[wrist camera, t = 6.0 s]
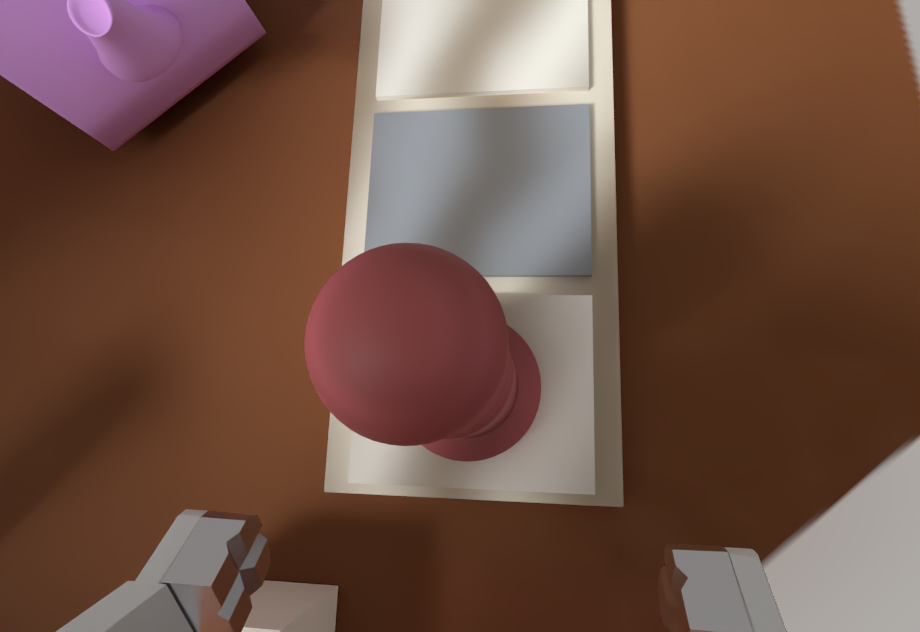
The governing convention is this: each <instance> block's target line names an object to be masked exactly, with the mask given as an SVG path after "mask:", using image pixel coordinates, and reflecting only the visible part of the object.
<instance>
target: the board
mask: <svg viewBox="0 0 920 632" xmlns="http://www.w3.org/2000/svg"><path fill="white" fill-rule="evenodd" d="M393 243H421V244H426V245H432V246H435V247H438V248H441V249H444V250H446V251H449V252H451V253H453V254H455V255H457V256H458V257H460V258H461V259H463V260H464V261H466V262H468V263H469V264H470V265H471V266H473V267H474V268H475V269H476V270H477V271H478V272H479V273H480V274H481V275H482V276H483V277H484V278H485V279H486V281H487V282H488V283H489V285H490V286H491V288H492V289H493V291H494V292H495V294H496V296H497V298H498V300H499V302H500V304H501V306H502V309H503V312H504V315H505V318H506V323H507V325H508V326H509V327H511V328H512V329H514V330H515V331H516V332H517V333H518V334H519V335H520V336H521V337H522V338H523V339H524V340H525V342H526V343H527V344H528V346H529V347H530V349H531V350H532V352H533V354H534V356H535V359H536V361H537V364H538V367H539V372H540V377H541V398H540V403H539V408H538V411H537V414H536V417H535V419H534V421H533V423H532V425H531V427H530V428H529V430H528V431H527V432H526V434H525V435H524V436H523V437H522V438H521V439H520V441H518V442H517V443H516V444H515V445H514V446H512V447H511V448H509V449H508V450H506V451H505V452H503V453H501V454H499V455H497V456H494V457H492V458H488V459H485V460H480V461H470V462H463V461H455V460H451V459H447V458H444V457H441V456H439V455H436V454H434V453H433V452H431V451H429V450H427V449H426V448H425V447H424V446H422V445H418V446H397V445H389V444H384V443H380V442H376V441H373V440H370V439H368V438H365V437H363V436H361V435H359V434H357V433H356V432H354V431H352V430H350V429H349V428H348V427H346V426H345V425H344V424H343V423H341V422H340V421H339V420H338V419H337V418H336V417H335V416H334V415H333V414H332V413H331V412H330V422H329V434H328V447H327V459H326V471H325V484H324V492H334V493H353V494H373V495H393V496H413V497H432V498H452V499H472V500H492V501H511V502H531V503H551V504H570V505H590V506H610V507H624V501H623V461H622V421H621V381H620V341H619V301H618V261H617V221H616V181H615V141H614V101H613V61H612V21H611V0H363V11H362V23H361V36H360V48H359V61H358V73H357V86H356V98H355V111H354V123H353V135H352V148H351V160H350V173H349V185H348V198H347V210H346V223H345V235H344V247H343V260H342V266H343V265H344V264H345V263H346V262H348V261H349V260H351V259H353V258H354V257H356V256H357V255H359V254H361V253H363V252H365V251H368V250H370V249H373V248H376V247H379V246H383V245H388V244H393Z"/></svg>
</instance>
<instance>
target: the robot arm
mask: <svg viewBox="0 0 920 632" xmlns="http://www.w3.org/2000/svg"><path fill="white" fill-rule="evenodd" d="M261 527H262V524H261V522H260V519H259V517H258V515H250V514H239V513H227V512H216V511H207V510H192V509H186V510H184V511H183V512H182V513H180V514H179V515H178V516H177V518H176V519H175V521H174V522H173V524H172V525H171V527H170V528H169V530H168V531H167V533H166V534H165V536H164V537H163V539H162V540H161V542H160V543H159V545H158V546H157V548H156V549H155V551H154V553H153V554H152V556H151V557H150V559H149V560H148V562H147V563H146V565H145V566H144V568H143V569H142V571H141V572H140V574H139V575H138V577H137V578H136V580H135V581H127V582H125V583H124V584H123V585H121V586H120V587H118V588H117V589H116V590H114V591H113V592H111V593H110V594H108V595H107V596H106V597H104V598H103V599H101V600H100V601H98V602H97V603H96V604H94V605H93V606H91V607H90V608H89V609H87V610H86V611H84V612H83V613H81V614H80V615H79V616H77V617H76V618H74V619H73V620H72V621H70V622H69V623H67V624H66V625H64V626H63V627H62V628H60V629H59V630H57V631H56V632H242V630H243V627H244V625H245V623H246V621H247V618H248V616H249V614H250V612H251V610H252V602H251V598H250V596H251V595H252V594H253V593H254V592H255V591H257V590H258V589H259V588H260V587H261V586H262V585H263V583H264V580H265V578H266V575H267V573H268V569H269V564H270V559H271V553H270V545H269V542H268V540H267V538H265V537H264V536H263V535H261V534H260V533H259V531H260V529H261ZM663 555H664V560H665V565H666V566H664V567H663V568H661V569H660V572H659V578H658V601H659V609H660V615H661V621H662V622H663V624H664V625H665V626H666V627H667V628H668V629H669V631H670V632H787V631H786V629H785V626H784V623H783V621H782V618H781V616H780V613H779V610H778V607H777V605H776V602H775V599H774V596H773V594H772V591H771V588H770V586H769V583H768V580H767V578H766V575H765V572H764V569H763V567H762V564H761V561H760V559H759V556H758V554H757V553H756V552H755V551H754V550H753V549H750V548H730V547H722V546H712V545H694V544H675V543H668V544H667V545H666V546H665V550H664V554H663Z"/></svg>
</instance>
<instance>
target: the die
mask: <svg viewBox="0 0 920 632" xmlns="http://www.w3.org/2000/svg"><path fill="white" fill-rule="evenodd" d="M337 597H338V586H335V585H321V584H308V583H294V582H281V581H267V580H264V583H263V585H262V586H261V587H260V588H259V589H258V590H257V591H255V592H254V593H253V594H252V595H251V596H250V598H251V602H252V610H251V612H250V614H249V616H248V618H247V621H246V623H245V625H244V627H243V630H242V632H335V625H336V611H337Z"/></svg>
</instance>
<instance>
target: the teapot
mask: <svg viewBox="0 0 920 632" xmlns="http://www.w3.org/2000/svg"><path fill="white" fill-rule="evenodd" d="M265 34H266V31H265V29H264V28H263V26H262V25H261V23H260V22H259V20H258V19H257V17H256V16H255V14H254V13H253V11H252V10H251V8H250V7H249V5H248V4H247V2H246V1H245V0H0V75H1V76H2V77H4V78H5V79H7V80H8V81H10V82H11V83H13V84H14V85H16V86H17V87H19V88H20V89H22V90H23V91H25V92H26V93H28V94H29V95H30V96H32V97H33V98H35V99H36V100H38V101H39V102H41V103H42V104H44V105H45V106H47V107H48V108H50V109H51V110H53V111H54V112H56V113H57V114H59V115H60V116H62V117H63V118H65V119H66V120H68V121H69V122H71V123H72V124H74V125H75V126H76V127H78V128H79V129H81V130H82V131H84V132H85V133H87V134H88V135H90V136H91V137H93V138H94V139H96V140H97V141H99V142H100V143H102V144H103V145H105V146H106V147H108V148H109V149H111V150H112V151H115V150H117V149H118V148H119V147H120V146H122V145H123V144H124V143H126V142H127V141H128V140H130V139H131V138H132V137H133V136H135V135H136V134H137V133H139V132H140V131H141V130H142V129H144V128H145V127H146V126H148V125H149V124H150V123H151V122H153V121H154V120H155V119H157V118H158V117H159V116H160V115H162V114H163V113H164V112H166V111H167V110H168V109H169V108H171V107H172V106H173V105H175V104H176V103H177V102H179V101H180V100H181V99H182V98H184V97H185V96H186V95H188V94H189V93H190V92H191V91H193V90H194V89H195V88H197V87H198V86H199V85H200V84H202V83H203V82H204V81H206V80H207V79H208V78H209V77H211V76H212V75H213V74H215V73H216V72H217V71H218V70H220V69H221V68H222V67H224V66H225V65H226V64H228V63H229V62H230V61H231V60H233V59H234V58H235V57H237V56H238V55H239V54H241V53H242V52H243V51H244V50H246V49H247V48H248V47H250V46H251V45H252V44H253V43H255V42H256V41H257V40H259V39H260V38H261V37H262V36H264V35H265Z"/></svg>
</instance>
